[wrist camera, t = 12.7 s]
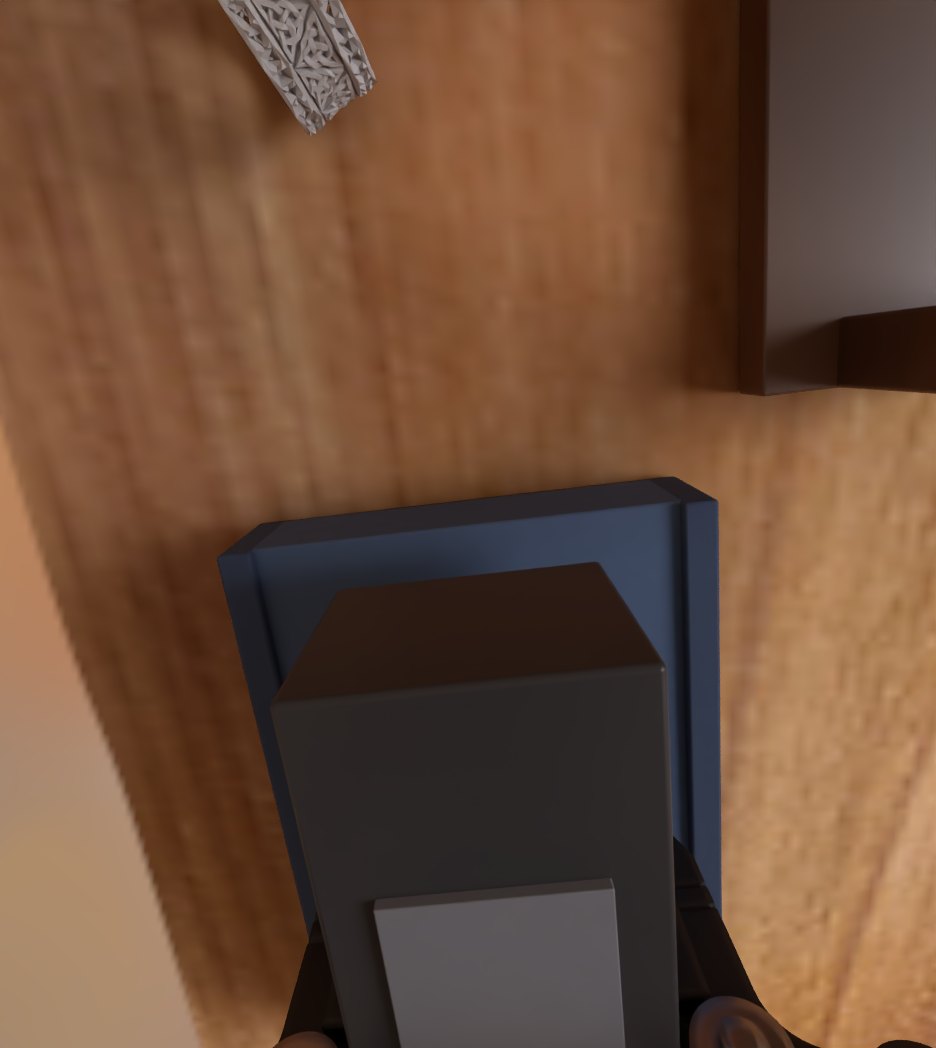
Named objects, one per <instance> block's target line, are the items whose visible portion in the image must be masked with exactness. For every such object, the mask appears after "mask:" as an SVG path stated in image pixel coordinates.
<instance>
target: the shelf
mask: <svg viewBox="0 0 936 1048" xmlns="http://www.w3.org/2000/svg"><path fill="white" fill-rule="evenodd" d="M838 387H842V388H858V389H873V390H888V391H904V392H919V393H934V394H936V0H740V393H742V394H749V395H758V396H771V395H779V394H788V393H796V392H804V391H813V390H821V389H829V388H838Z"/></svg>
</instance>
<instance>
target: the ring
mask: <svg viewBox="0 0 936 1048" xmlns="http://www.w3.org/2000/svg"><path fill="white" fill-rule="evenodd" d="M218 2H219V3H220V5H221V6H222V8H223V9H224V11H225V12H226V14H227V15H228V17H229V18H230V20H231V21H232V23H233V24H234V26H235V27H236V29H237V30H238V32H239V33H240V35H241V36H242V38H243V39H244V41H245V42H246V44H247V45H248V47H249V48H250V50H251V51H252V53H253V54H254V56H255V57H256V59H257V60H258V62H259V64H260V65H261V67H262V68H263V70H264V71H265V73H266V74H267V75H268V77H269V78H270V80H271V81H272V83H273V84H274V86H275V87H276V89H277V90H278V92H279V93H280V95H281V96H282V98H283V99H284V101H285V102H286V104H287V105H288V107H289V108H290V109H291V111H292V112H293V114H294V115H295V117H296V118H297V120H298V121H299V123H300V124H301V125H302V127H303V128H304V130H305V131H306V132H307V134H308V135H309V136H311V134H312V133H313V134H316V128H318V129H319V130H322V128H323V126H324V125H325V124H326V123H325V120H324V118H325V119H326V120H327V121H330V120H331V119H332V117H334V115H335V114H336V113H337V112H338V111H339V109H340V108H344V107H346V105H347V104H348V102H350V101H352V100H354V99H355V98H356V97H357V96H356V94H357V95H358V96H360V97H362V96H364V95H366V94H367V92H366V88H367V89H368V90H371V88H372V86H373V85H374V84H375V83H376V82H377V81H376V78H375V76H374V73H373V71H372V68H371V66H370V63H369V61H368V58H367V56H366V53H365V51H364V48H363V46H362V44H361V42H360V40H359V38H358V36H357V34H356V32H355V30H354V28H353V26H352V24H351V22H350V20H349V18H348V15H347V13H346V11H345V9H344V7H343V5H342V3H341V1H340V0H218ZM328 4H330V8H329V14H328V13H327V11H326V10H327V5H328ZM246 16H247V17H248V18H249V21H250V22H247V21H245V20H244V18H245V17H246ZM336 28H338V31H337V29H336ZM256 36H257V37H259V38H260V39H258V38H257V37H256ZM270 55H271V57H270Z"/></svg>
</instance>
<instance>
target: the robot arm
mask: <svg viewBox="0 0 936 1048" xmlns="http://www.w3.org/2000/svg"><path fill="white" fill-rule="evenodd" d="M673 854H674V883H675V912H676V941H677V970H678V999H679V1028H680V1048H820V1047H817V1046H814V1045H812V1044H810V1043H807V1042H805V1041H803V1040H801V1039H800V1038H798V1037H796V1036H795V1035H793V1034H791V1033H790V1032H789V1031H788V1030H786V1029H785V1028H784V1027H782V1026H781V1025H780V1024H779V1023H778V1021H777V1020H775V1019H774V1018H773V1017H772V1016H771V1015H770V1014H769V1013H768V1012H767V1010H766V1009H765V1008H764V1006H763V1005H762V1003H761V1002H760V1001H759V999H758V997H757V995H756V993H755V991H754V989H753V987H752V985H751V982H750V980H749V978H748V976H747V974H746V971H745V969H744V967H743V965H742V962H741V960H740V958H739V956H738V954H737V951H736V949H735V947H734V945H733V943H732V940H731V938H730V936H729V934H728V931H727V929H726V927H725V925H724V923H723V920H722V918H721V916H720V914H719V912H718V909H716V907H715V903H714V900H713V898H712V896H711V894H710V892H709V889H708V887H706V885H705V881H704V878H703V876H702V874H701V872H700V869H699V867H698V865H697V863H696V861H695V858H694V856H693V855H692V854H691V853H690V852H689V851H688V850H687V849H686V848H685V847H684V846H683V845H682V844H681V843H680V842H679V841H678V840H677V839H676V838H675V837H674V836H673ZM273 1048H349V1046H348V1042H347V1037H346V1033H345V1029H344V1024H343V1020H342V1016H341V1012H340V1007H339V1003H338V999H337V994H336V990H335V986H334V982H333V977H332V973H331V969H330V964H329V960H328V956H327V952H326V947H325V943H324V939H323V934H322V930H321V926H320V921H319V917H318V913H317V911H316V914H315V922H313V925H312V929H311V932H310V936H309V944H308V945H307V946H306V950H305V954H304V957H303V961H302V964H301V968H300V971H299V975H298V979H297V982H296V986H295V989H294V993H293V996H292V1000H291V1004H290V1007H289V1011H288V1014H287V1018H286V1021H285V1025H284V1029H283V1032H282V1035H281V1038H280V1040H279V1042H278V1043H277V1044H276V1045H275V1046H274V1047H273ZM877 1048H932V1047H930V1046H927V1045H924V1044H921V1043H918V1042H913V1041H908V1040H894V1041H888V1042H886V1043H883V1044H881V1045H880V1046H879V1047H877Z"/></svg>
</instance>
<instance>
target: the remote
mask: <svg viewBox="0 0 936 1048" xmlns="http://www.w3.org/2000/svg"><path fill="white" fill-rule="evenodd" d="M270 711H271V716H272V720H273V724H274V728H275V733H276V737H277V741H278V746H279V750H280V754H281V758H282V763H283V767H284V771H285V776H286V780H287V784H288V788H289V793H290V797H291V801H292V806H293V810H294V814H295V819H296V823H297V827H298V831H299V836H300V840H301V844H302V849H303V853H304V857H305V861H306V866H307V870H308V874H309V879H310V883H311V887H312V891H313V896H314V900H315V904H316V909H317V913H318V917H319V921H320V926H321V930H322V934H323V939H324V943H325V947H326V952H327V956H328V960H329V964H330V969H331V973H332V977H333V982H334V986H335V990H336V994H337V999H338V1003H339V1007H340V1012H341V1016H342V1020H343V1024H344V1029H345V1033H346V1037H347V1042H348V1046H349V1048H680V1028H679V999H678V970H677V941H676V912H675V883H674V854H673V826H672V797H671V768H670V739H669V710H668V681H667V667H666V665H665V663H664V661H663V659H662V658H661V656H660V655H659V653H658V652H657V650H656V649H655V647H654V646H653V644H652V643H651V641H650V640H649V638H648V636H647V635H646V633H645V632H644V630H643V629H642V627H641V626H640V624H639V623H638V621H637V620H636V618H635V616H634V615H633V613H632V612H631V610H630V609H629V607H628V606H627V604H626V603H625V601H624V600H623V598H622V596H621V595H620V593H619V592H618V590H617V589H616V587H615V586H614V584H613V583H612V581H611V580H610V578H609V577H608V575H607V573H606V572H605V570H604V569H603V567H602V566H601V564H600V563H598V562H587V563H578V564H569V565H560V566H551V567H542V568H533V569H524V570H515V571H506V572H497V573H488V574H478V575H469V576H460V577H451V578H442V579H433V580H424V581H415V582H406V583H397V584H388V585H379V586H370V587H361V588H352V589H343V590H339V591H338V592H336V594H335V596H334V598H333V599H332V601H331V603H330V604H329V606H328V608H327V609H326V611H325V613H324V615H323V616H322V618H321V620H320V621H319V623H318V625H317V626H316V628H315V630H314V632H313V633H312V635H311V637H310V638H309V640H308V642H307V643H306V645H305V647H304V648H303V650H302V652H301V654H300V655H299V657H298V659H297V660H296V662H295V664H294V665H293V667H292V669H291V671H290V672H289V674H288V676H287V677H286V679H285V681H284V682H283V684H282V686H281V688H280V689H279V691H278V693H277V694H276V696H275V698H274V699H273V701H272V703H271V707H270Z"/></svg>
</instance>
